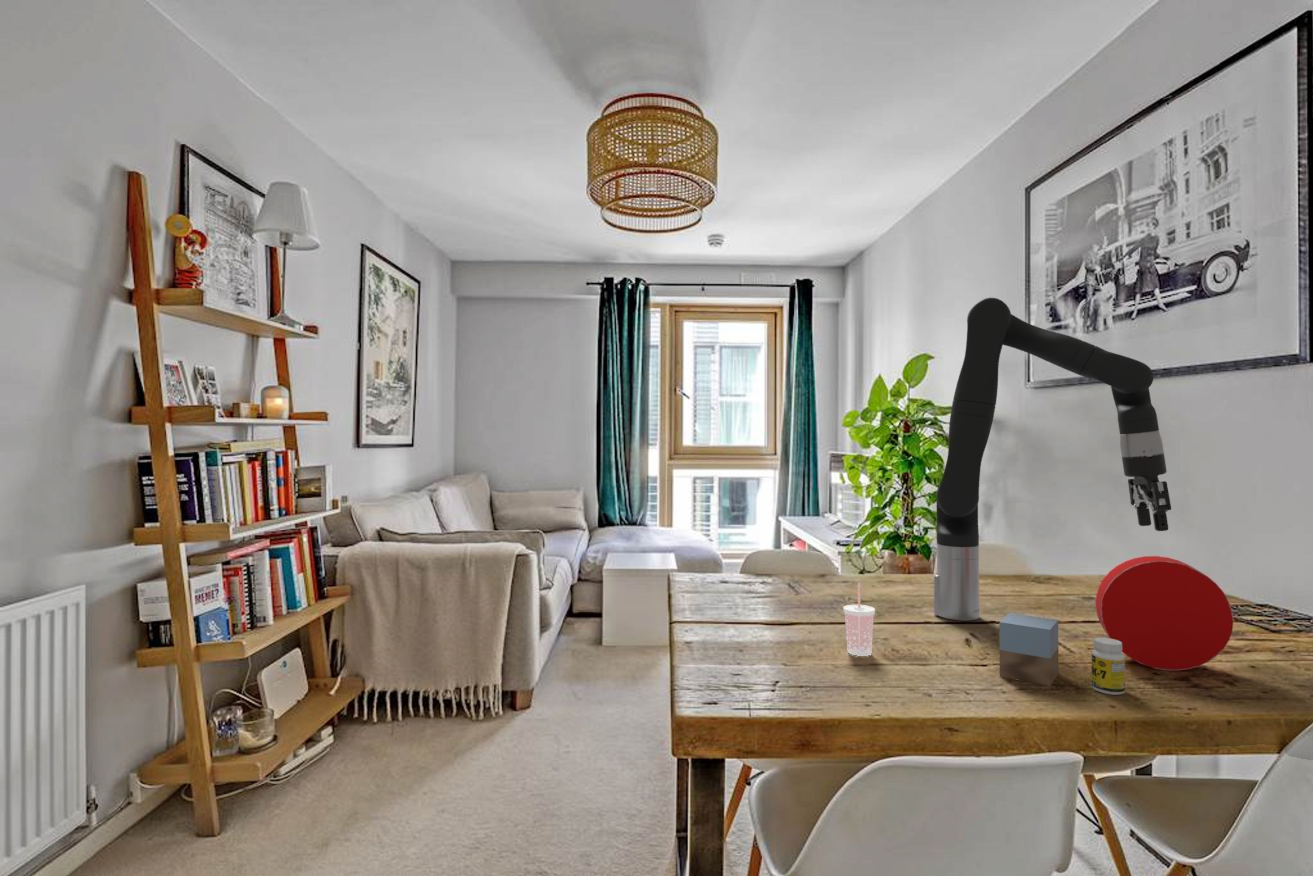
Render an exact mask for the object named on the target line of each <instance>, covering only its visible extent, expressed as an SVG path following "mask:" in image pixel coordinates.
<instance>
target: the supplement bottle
mask: <svg viewBox="0 0 1313 876" xmlns="http://www.w3.org/2000/svg"><path fill="white" fill-rule="evenodd" d="M1093 639H1094V640H1093V648H1094V649H1092V651H1091V666H1090V667H1091V669H1090V670H1091V688H1092V689H1093V690H1094V691H1097V692H1098V693H1102V694H1106V695H1113V696H1117V695H1118V696H1119V695H1123V694H1125V692H1126V667H1125V666H1126V657H1125V654H1124V653H1123V652H1122V642H1120V641H1118V640H1115V639H1110V638H1109V637H1096V638H1093Z"/></svg>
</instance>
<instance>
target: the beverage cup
mask: <svg viewBox="0 0 1313 876" xmlns="http://www.w3.org/2000/svg"><path fill="white" fill-rule="evenodd" d="M842 609H843V613H844V619H845V620H844V621H845V633H846V634H845V637H846V648H847V651H848V652H847V651H846V652H847V654H848V653H850V654H852V655H851V656H853V655H857V656H856V657H858V656H867V657H869V656H868V655H870V656H871V655H872V654H871V653H872V652H873V636H874V635H873V633H874V618H875V614H876V609H875V607H872V606H870V605H865V604H861V583H860V582H857V604H848V605H844V606H842ZM850 654H849V655H850Z"/></svg>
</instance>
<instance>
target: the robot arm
mask: <svg viewBox="0 0 1313 876" xmlns="http://www.w3.org/2000/svg"><path fill="white" fill-rule="evenodd" d="M966 323H967V331H966V341H965V352H964V358H963V362H962V365H961V369H960V372H959V376H958V378H957V382H956V387H955V390H954V394H953V400H952V405H951V409H950V410H951V411H950V416H949V423H948V424H949V425H948V449H947V450H948V451H947V458H946V463H945V466H944V471H943V475H942V477H941V481H940V484H939V485H938V487H937V490H936V574H935V575H934V576H933V586H934V587H933V589H934V590H933V592H934V593H933V599H934V600H933V601H934V602H933V605H934V608H933V609H934V614H933V615H934V616H937V615H938V616H939V617H941V618H944V619H948V620H953V621H965V622H966V621H976V620H979V619H980V536H979V535H980V534H979V501H980V477H981V468H982V467H981V466H982V460H983V457H984V454H985V450H986V447H987V444H988V441H989V437H990V434H991V429H992V425H993V422H994V415H995V411H996V405H997V397H998V388H999V387H998V386H999V385H998V384H999V365H1000V364H999V363H1000V359H1001V358H1000V357H1001V352H1002V349H1003V346H1005V347H1010V348H1011V349H1012V348H1013V349H1016V350H1019V351H1021V352H1024V353H1027V354H1029V355H1032V356H1034V357H1036V358H1039V359H1041V360H1044V361H1046V362H1048V363H1051V364H1052V365H1055V366H1057V367H1060V368H1062V369H1064V370H1066V371H1068V372H1071V373H1073V374H1075V375H1078V376H1081V377H1084V378H1086V379H1092V380H1093V379H1094V380H1096V381H1098V382H1101V383H1103V384H1106V385H1108V386H1110V388H1111V393H1112V397H1113V402H1114V405H1115V407H1116V413H1117V423H1118V432H1119V438H1120V440H1119V447H1120V454H1121V461H1122V466H1123V467H1122V468H1123V475H1124V476H1125V477H1128V479H1127V484H1128V490H1129V491H1128V492H1129V499H1130V501H1129V502H1130V504H1131V506H1133V507H1134V509H1135V510H1136V515H1137V522H1138V525H1139V526H1140V527H1146V526H1147V527H1148V526H1151V525H1152V519H1151V512H1152V518H1153V525H1154V529H1155V531H1157V532H1165V531H1168V530H1169V523H1168V517H1167V513H1168V511H1171V510H1172V504H1171V499H1170V493H1169V488H1168V483H1167V481H1166V480H1164V481H1160V480H1159V477H1158V476H1161V475H1164V474H1166V473H1167V471H1168V470H1167V464H1166V458H1165V451H1164V444H1163V439H1162V437H1161V433H1160V431H1159V430H1160V428H1159V421H1158V415H1157V411H1156V409H1155V407H1154V406H1153V404H1152V400H1151V394H1150V387H1151V386H1152V384H1153V382H1154V372H1153V371H1152V369H1151V367H1149V366H1148V364H1146V363H1144V362H1142V361H1139V360H1137V359H1134V358H1132V357H1129V356H1125V355H1122V354H1118V353H1115V352H1111V351H1107V350H1105V349H1103V348H1101V347H1099V346H1097V345H1094V344H1092V343H1090V342H1087V341H1085V340H1082V339H1079V338H1077V337H1074V336H1070V335H1067V334H1063V333H1059V332H1057V331H1056V332H1055V331H1052V330H1048V329H1044V328H1042V327H1039V326H1036V325H1033V324H1031V323H1029V322H1027V321H1024V320H1022V319H1020V318H1018V317H1017V316H1015V315H1013V314H1012V312H1011V310H1010V307H1009V306H1008V305H1007V303H1006V302H1004V301H1003V300H1001V299H999V298H996V297H985V298H982V299H980V300H979V301H977V302H975V303H974V305H973V306H972V307H971V308H970V310H969V312H968V313H967V319H966ZM1150 510H1151V512H1150Z"/></svg>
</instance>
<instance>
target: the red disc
mask: <svg viewBox="0 0 1313 876" xmlns="http://www.w3.org/2000/svg"><path fill="white" fill-rule="evenodd" d="M1095 595H1096V596H1095V611H1096V615H1097V618H1098V621H1099V623H1100V625H1101V626H1102V629H1103V631H1104V632H1105V633H1106V635H1107V637H1108V638H1110V639H1115V640H1118V641H1120V642H1122V652H1121V653H1122V654H1123V655H1126V656H1127V657H1129V658H1130V660H1131V659H1132V660H1133V661H1135V662H1136V663H1139V664H1141V665H1144V666H1147V667H1150V668H1152V669H1157V670H1163V671H1183V670H1184V671H1185V670H1189V669H1193V668H1198V667H1200V666H1202V665H1204V664H1207V663H1209V662H1211V661H1212V660H1213V659H1215V658H1216V657H1217V656H1219V655H1220V653H1222V651H1223V650H1224V649H1225V647H1226V646H1227V644H1228V642H1229V641H1230V639H1231V636H1232V633H1233V629H1234V627H1233V626H1234V614H1233V610H1232V607H1231V603H1230V600H1229V599H1228V597H1227V596H1226V594H1225V592H1224V591H1223V590H1222V589H1221V587H1220V586H1219V585H1218V584H1217V583H1216V582H1215V581H1214V580H1213V579H1212V578H1211V577H1209V576H1208V575H1206V574H1204V573H1203V572H1201V571H1200V570H1198V569H1196V568H1195V567H1193V566H1191V565H1190V564H1188V563H1185V562H1183V561H1180V560H1179V559H1178V560H1177V559H1174V558H1171V557H1166V556H1159V555H1148V556H1147V555H1146V556H1145V555H1144V556H1140V557H1134V558H1132V559H1128V560H1125V561H1124V562H1122V563H1120V564H1118V565H1116V566H1114V568H1112V569H1111V570H1110V571H1109V572H1108V573H1107V574H1106V575H1105V576H1104V578H1103V579H1102V581H1101V582H1100V583H1099V586H1098V589H1097V592H1096V594H1095Z"/></svg>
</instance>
